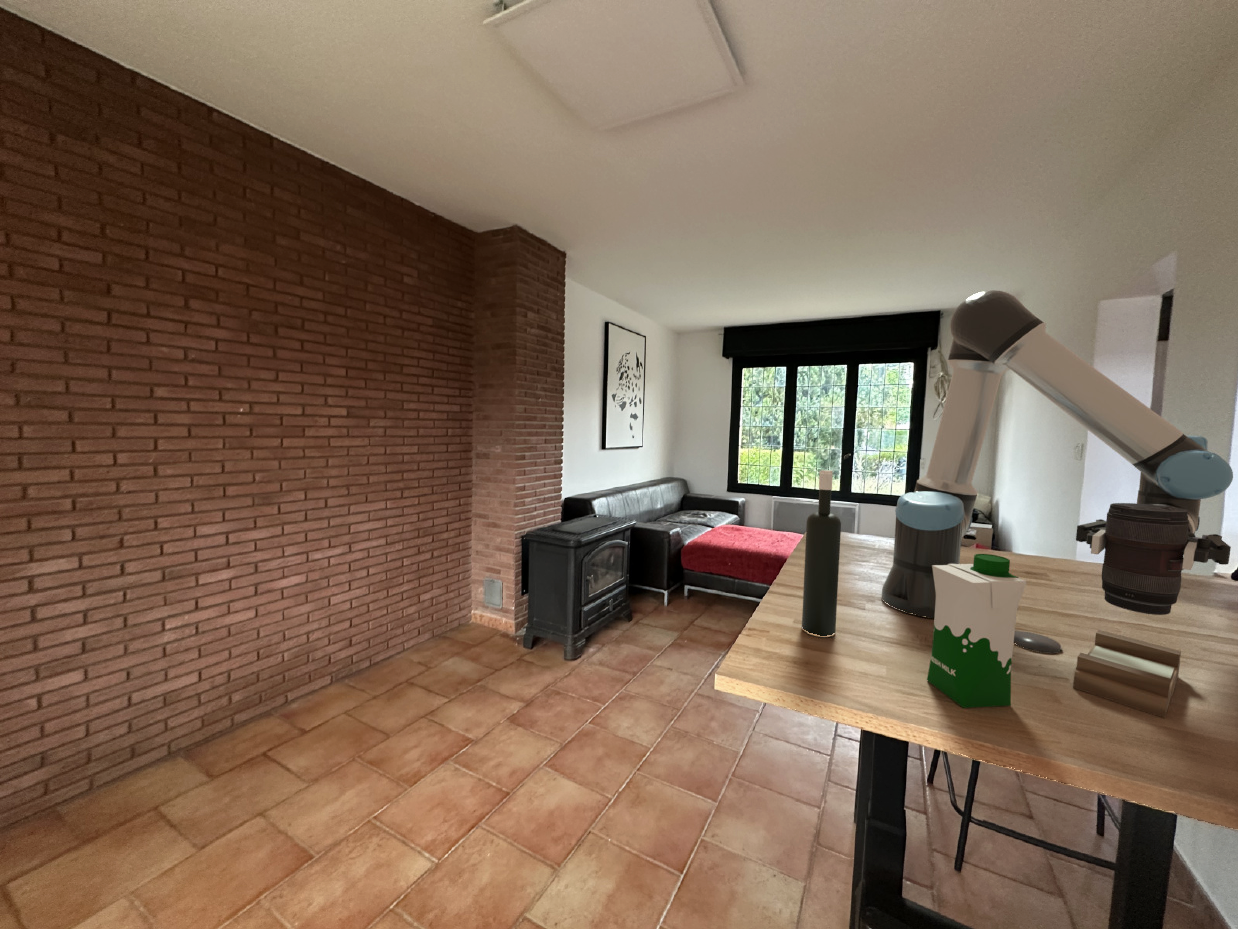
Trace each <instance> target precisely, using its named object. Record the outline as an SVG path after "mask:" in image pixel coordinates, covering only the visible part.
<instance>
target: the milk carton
mask: <svg viewBox="0 0 1238 929" xmlns="http://www.w3.org/2000/svg"><path fill="white" fill-rule="evenodd" d="M1010 565H1011V560H1010V559H1009V558H1007V557H1004V556H1000V555H996V554H991V553H990V554H989V553H977V554H976V553H975V554H974V555H973V563H959V564H948V565H932V568H933V576H934V583H935V591H936V604H935V618H934V621H933V633H932V647H931V655H930V660H929V661H930V662H929V667H928V672H927V677H926V680H928V683H930V684H931V685H933V686H934V687H935V688H937V689H938V690H939V691H941V692H942V693H943V694H944V695H945V696H947V697H948V698H950V699H951V700H952V701H953V702H954V703H957V704H958V705H959V706H960V707H961V708H963V709H968V708H969V709H971V708H987V707H991V708H992V707H1006V706H1007V707H1008V706H1012V675H1011V674H1012V664H1013V662H1012V661H1013V652H1014V651H1013V650H1014V633H1015V631H1016V620H1017V611H1018V608H1019V604H1020V602H1021V599H1022V597H1023V593H1024V590H1025V588H1026V586H1027V580H1025V579H1023V578H1019V577H1018V576H1016V575H1013V574H1012V573H1011V572H1010V567H1011V566H1010Z"/></svg>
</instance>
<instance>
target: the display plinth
mask: <svg viewBox="0 0 1238 929" xmlns="http://www.w3.org/2000/svg"><path fill="white" fill-rule="evenodd" d="M1181 654H1182V651H1181V650H1179V649H1176V648H1171V647H1168V646H1163V645H1159V644H1155V643H1153V642H1147V641H1144V640H1139V639H1136V638H1133V637H1128V636H1125V635H1121V634H1117V633H1112V632H1108V631H1105V630H1101V629H1098V630H1097V631H1096V632H1095V638H1094V645H1093V646H1092V647H1091V649H1090V650H1089V652H1088V653H1084V652H1079V654H1078V655H1077V660H1076V668H1075V670H1074V673H1073V675H1074V676H1073V682H1072V688H1073V689H1077V690H1080V691H1083V692H1084V693H1085V692H1086V693H1088V694H1091V695H1094V696H1097V697H1100V698H1103V699H1105V700H1108V701H1109V700H1110V701H1112V702H1115V703H1118V704H1121V705H1124V706H1128V707H1130V708H1131V709H1135V710H1139V711H1142V712H1145V713H1148V714H1150V715H1154V716H1155V717H1156V716H1157V717H1160V718H1163V719H1165V717H1166V714H1167V711H1168V709H1169V705H1170V703H1171V700H1172V697H1173V694H1174V691H1175V689H1176V688H1175V687H1176V685H1177V681H1178V678H1179V672H1180V667H1181V666H1180V664H1181Z"/></svg>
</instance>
